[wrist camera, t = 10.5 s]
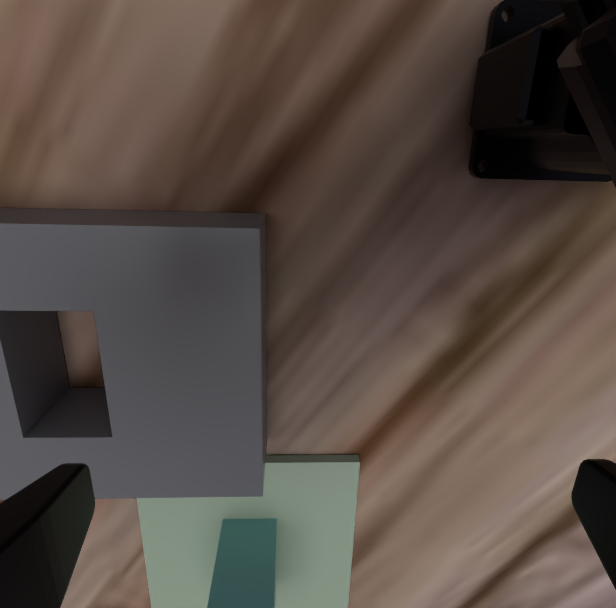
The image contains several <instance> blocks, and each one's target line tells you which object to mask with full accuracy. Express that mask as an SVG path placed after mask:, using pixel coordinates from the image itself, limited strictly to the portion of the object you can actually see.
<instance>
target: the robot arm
mask: <svg viewBox="0 0 616 608" xmlns="http://www.w3.org/2000/svg"><path fill="white" fill-rule="evenodd" d="M504 9H505V10H507V11H508V12H509V16H510V18H509V20H508V22H505V21H503V19H502V16H501V13H502V11H503V10H504ZM470 126H471V128H472V129H473V130H474V133H473V140H472V147H471V154H470V161H469V171H470V173H471V175H473V176H474V177H477V178H487V179H525V180H563V181H601V182H607V181H611V180H612V181H613V183H614V185H615V187H616V0H554V1H551V0H504V1H502V2H501V3H499V4H498V5H497V6H495V8H494V9H493V11H492V13H491V17H490V23H489V30H488V37H487V44H486V51H485V53H484V54H483V55H482V56H481V57H480V58H479V60H478V67H477V74H476V81H475V88H474V95H473V102H472V109H471V116H470ZM482 160H484V161H485V162H486V167H485V169H484V170H483V171H482V172H480V170H479V169H478V165H479V163H480V162H481V161H482ZM572 504H573V507H574V509H575V511H576V513H577V515H578V517H579V519H580V521H581V523H582V525H583V527H584V529H585V531H586V533H587V535H588V537H589V539H590V541H591V543H592V545H593V547H594V549H595V550H596V552H597V554H598V556H599V558H600V560H601V562H602V564H603V566H604V568H605V570H606V572H607V574H608V576H609V578H610V580H611V582H612V583H613V585H614V587H615V589H616V463H614V462H612V461H610V460H606V459H587V460H584V461H583V462H582V463H581V464H580V466H579V470H578V473H577V477H576V480H575V483H574V487H573V490H572ZM94 509H95V497H94V491H93V485H92V479H91V474H90V469H89V467H88V465H86V464H84V463H65V464H61V465H59V466H57V467H56V468H54V469H53V470H51V471H49V472H48V473H46V474H45V475H43V476H42V477H40V478H39V479H37V480H35V481H34V482H32V483H31V484H29V485H28V486H26V487H25V488H23V489H21V490H20V491H18V492H17V493H15V494H14V495H12V496H11V497H9V498H8V499H6V500H4V501H3V502H1V503H0V608H60V607H61V604H62V601H63V599H64V596H65V593H66V591H67V588H68V585H69V582H70V579H71V577H72V574H73V571H74V568H75V565H76V562H77V559H78V557H79V554H80V551H81V548H82V545H83V542H84V539H85V537H86V534H87V531H88V528H89V525H90V522H91V519H92V517H93V513H94Z"/></svg>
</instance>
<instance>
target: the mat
mask: <svg viewBox="0 0 616 608" xmlns="http://www.w3.org/2000/svg"><path fill="white" fill-rule="evenodd" d="M359 468H360V460H359V456H358V455H266V460H265V473H264V487H263V497H187V498H137V504H138V512H139V519H140V527H141V534H142V541H143V549H144V556H145V564H146V571H147V579H148V586H149V593H150V601H151V608H207V605H208V600H209V594H210V588H211V583H212V577H213V571H214V566H215V560H216V554H217V549H218V543H219V537H220V532H221V526H222V521H223V519H264V518H277V541H276V606H275V608H348V601H349V588H350V576H351V564H352V552H353V540H354V528H355V516H356V504H357V492H358V480H359Z"/></svg>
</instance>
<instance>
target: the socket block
mask: <svg viewBox="0 0 616 608" xmlns="http://www.w3.org/2000/svg"><path fill="white" fill-rule="evenodd" d="M56 311H94V317H95V324H96V330H97V337H98V344H99V350H100V357H101V364H102V371H103V377H104V384H105V388H70V386H69V380H68V375H67V369H66V364H65V358H64V353H63V347H62V342H61V336H60V331H59V325H58V320H57V314H56ZM266 446H267V367H266V213H227V212H181V211H135V210H88V209H42V208H0V500H6V499H8V498H9V497H11V496H12V495H14V494H15V493H17V492H18V491H20V490H21V489H23V488H25V487H26V486H28V485H29V484H31V483H32V482H34V481H35V480H37V479H39V478H40V477H42V476H43V475H45V474H46V473H48V472H49V471H51V470H53V469H54V468H56V467H57V466H59V465H61V464H65V463H84V464H86V465H88V467H89V469H90V474H91V479H92V485H93V491H94V497H95V499H104V498H187V497H263V487H264V473H265V460H266Z"/></svg>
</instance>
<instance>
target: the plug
mask: <svg viewBox="0 0 616 608" xmlns="http://www.w3.org/2000/svg"><path fill="white" fill-rule="evenodd" d="M276 541H277V518H264V519H223V521H222V526H221V532H220V537H219V543H218V549H217V554H216V560H215V566H214V571H213V577H212V583H211V588H210V594H209V600H208V605H207V608H275V606H276Z"/></svg>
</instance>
